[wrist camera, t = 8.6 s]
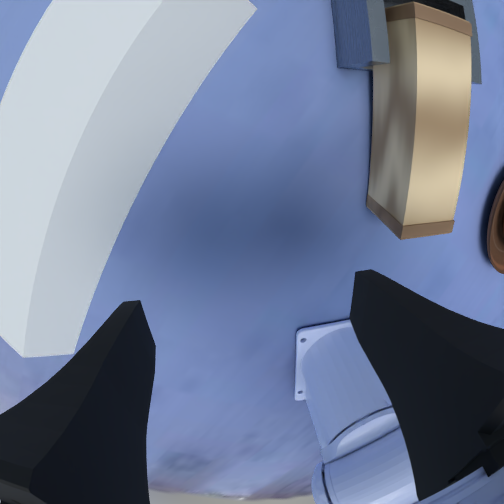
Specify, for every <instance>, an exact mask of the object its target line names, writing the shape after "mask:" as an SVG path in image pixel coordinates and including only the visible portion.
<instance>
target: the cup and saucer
mask: <svg viewBox="0 0 504 504" xmlns="http://www.w3.org/2000/svg"><path fill="white" fill-rule="evenodd" d="M487 250H488V256H489V259H490V262H491V264H492V265H493V267H494V268H495V269H496V270H497V271H498V272H499V273H502V274H504V180H503V182H502V183H501V185H500V187H499V189H498V192H497V194H496V196H495V199H494V202H493V205H492V208H491V212H490V216H489V221H488V228H487Z"/></svg>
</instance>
